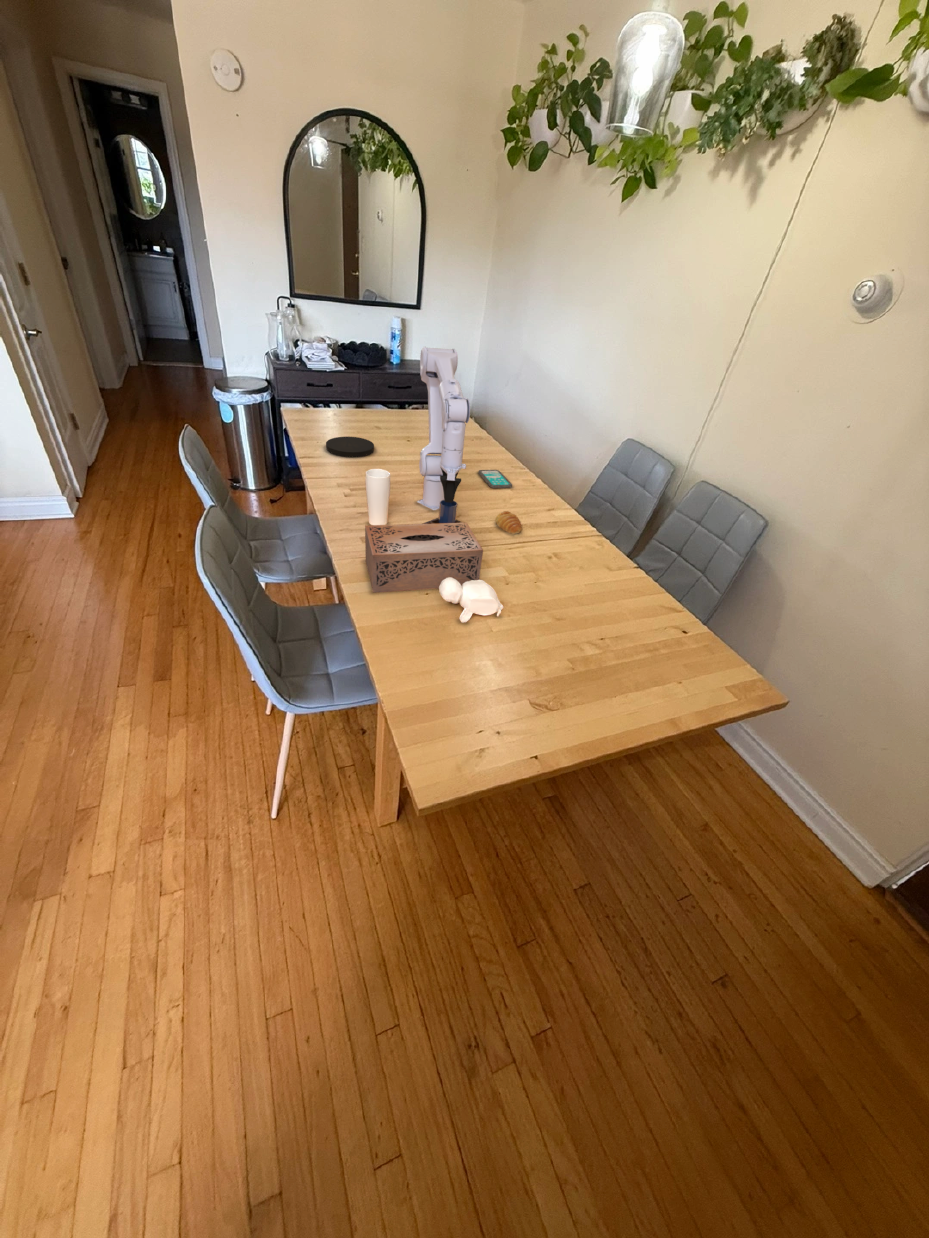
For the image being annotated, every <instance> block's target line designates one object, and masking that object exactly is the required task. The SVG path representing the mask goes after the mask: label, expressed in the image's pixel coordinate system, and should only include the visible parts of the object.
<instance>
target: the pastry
mask: <svg viewBox="0 0 929 1238" xmlns="http://www.w3.org/2000/svg"><path fill="white" fill-rule="evenodd" d="M495 523H496V525H497V527H498V528H500V529H501V530H503V531H505V532H507V533H509V534H510V535H515V534H516V535H517V534H520V533H521V532H522V531H523V527H522V523H521V520H520V519H519V517H518V516H517V515H516V514H515V513H512V512H511V511H508V510H504V511H501V512H500V513H498V514H497V516H496V517H495Z"/></svg>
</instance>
